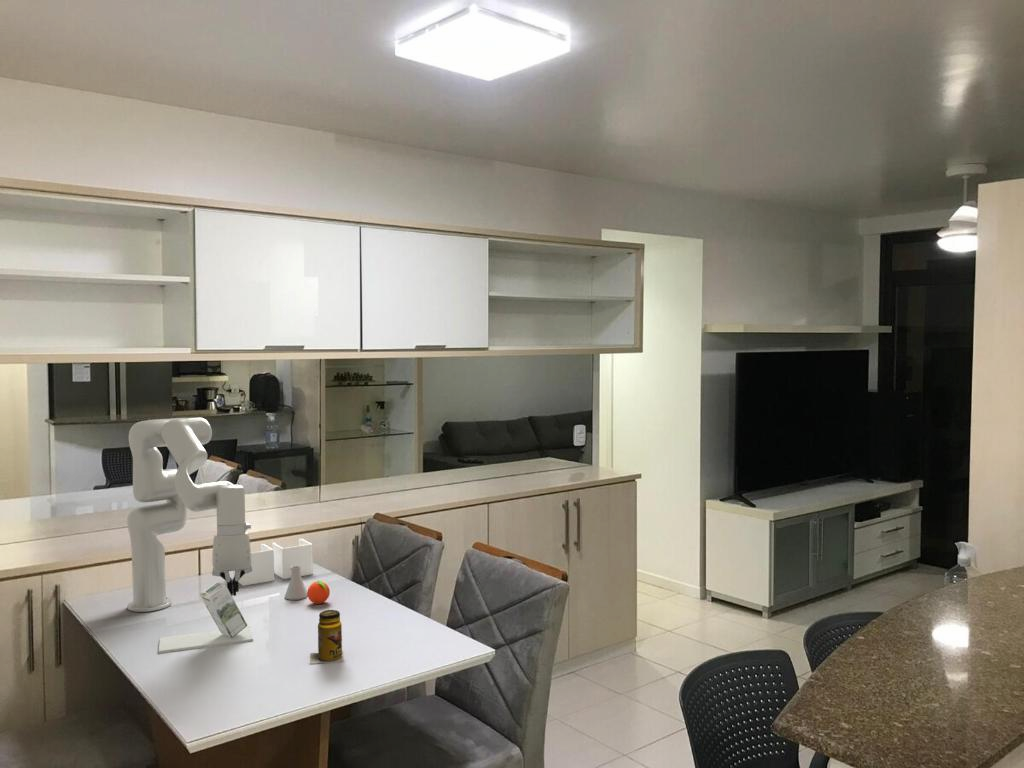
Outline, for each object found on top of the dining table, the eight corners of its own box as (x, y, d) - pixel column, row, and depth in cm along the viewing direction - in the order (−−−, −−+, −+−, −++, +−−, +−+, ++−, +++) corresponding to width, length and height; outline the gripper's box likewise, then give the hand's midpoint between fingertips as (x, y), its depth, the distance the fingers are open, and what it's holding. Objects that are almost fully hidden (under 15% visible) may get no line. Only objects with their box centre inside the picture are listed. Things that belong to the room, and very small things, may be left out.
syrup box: (238, 621, 239) (215, 580, 234) (248, 626, 235) (225, 584, 229) (221, 634, 235) (198, 593, 230) (231, 639, 231) (208, 598, 226)
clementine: (336, 603, 265) (335, 581, 264) (317, 608, 260) (317, 586, 259) (321, 598, 270) (321, 576, 270) (303, 603, 265) (302, 581, 265)
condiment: (343, 661, 216) (343, 615, 215) (309, 664, 214) (309, 618, 213) (343, 651, 223) (342, 607, 222) (310, 654, 221) (309, 609, 220)
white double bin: (242, 586, 286) (241, 554, 286) (233, 579, 295) (232, 548, 295) (313, 574, 300) (312, 544, 300) (302, 568, 309) (301, 538, 309)
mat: (160, 639, 233) (160, 637, 233) (250, 628, 242) (250, 626, 242) (158, 653, 223) (158, 650, 223) (253, 641, 231) (253, 638, 231)
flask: (280, 599, 270) (279, 568, 270) (294, 593, 277) (293, 563, 276) (298, 601, 267) (298, 570, 267) (312, 595, 274) (311, 565, 274)
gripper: (258, 524, 240) (259, 588, 241) (202, 529, 234) (204, 594, 235) (260, 529, 233) (261, 595, 234) (203, 534, 227) (204, 601, 228)
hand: (232, 594), depth 234 cm, fingers closed
